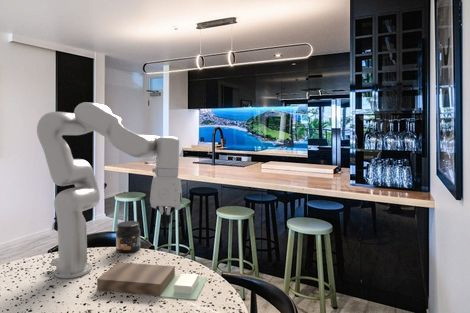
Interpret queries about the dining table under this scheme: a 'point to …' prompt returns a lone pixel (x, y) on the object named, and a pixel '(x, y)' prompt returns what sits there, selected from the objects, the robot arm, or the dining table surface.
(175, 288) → the white rectangular block
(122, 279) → the deck
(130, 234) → the supplement container
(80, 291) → the dining table surface
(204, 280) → the mat
